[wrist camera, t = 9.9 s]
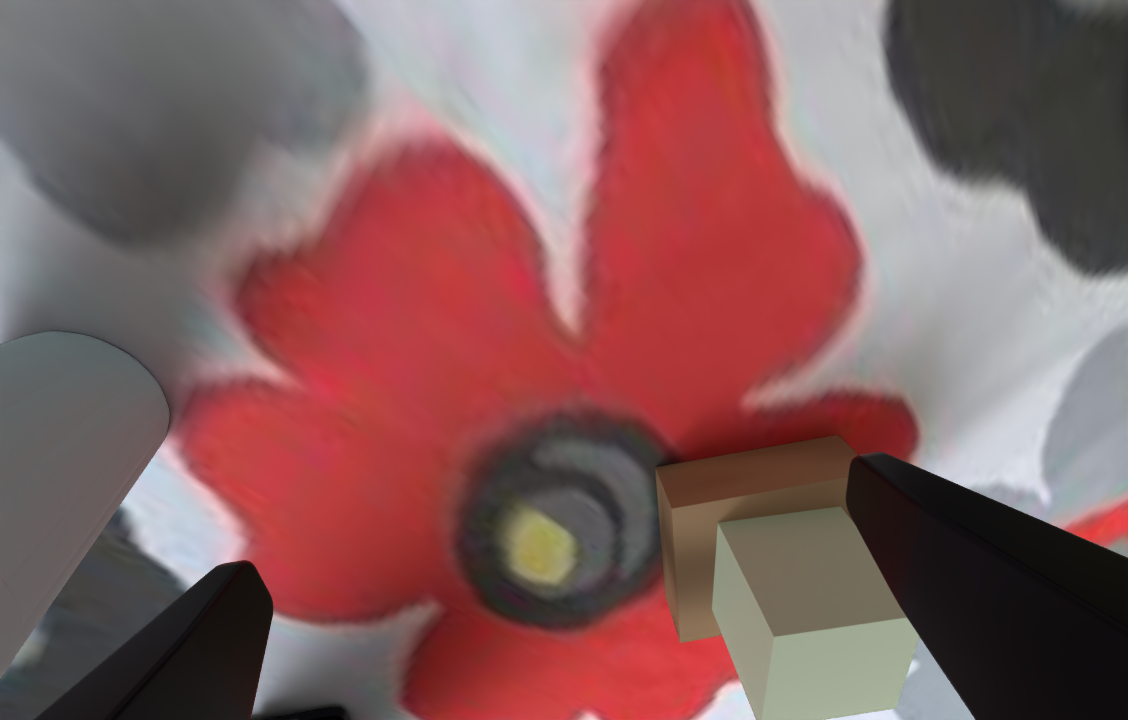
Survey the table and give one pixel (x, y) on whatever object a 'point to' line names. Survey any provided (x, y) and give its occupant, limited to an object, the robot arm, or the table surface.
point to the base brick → (736, 512)
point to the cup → (64, 462)
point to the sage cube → (809, 617)
